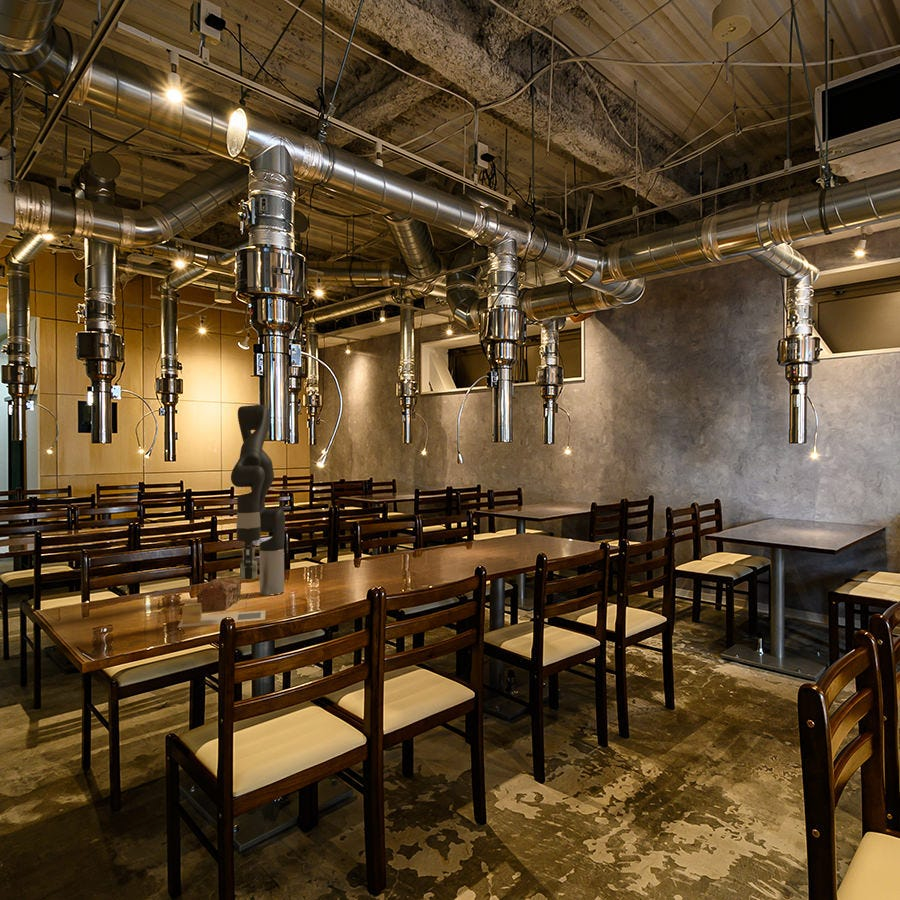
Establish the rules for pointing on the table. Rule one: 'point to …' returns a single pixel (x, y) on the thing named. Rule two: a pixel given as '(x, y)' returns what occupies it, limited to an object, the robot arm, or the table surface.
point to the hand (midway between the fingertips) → (248, 577)
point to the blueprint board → (236, 616)
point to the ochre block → (191, 613)
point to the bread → (219, 594)
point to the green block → (254, 569)
